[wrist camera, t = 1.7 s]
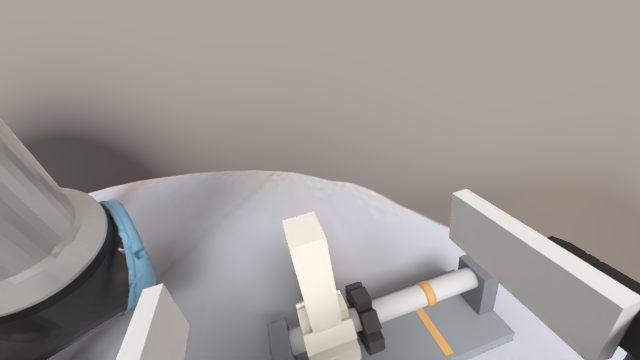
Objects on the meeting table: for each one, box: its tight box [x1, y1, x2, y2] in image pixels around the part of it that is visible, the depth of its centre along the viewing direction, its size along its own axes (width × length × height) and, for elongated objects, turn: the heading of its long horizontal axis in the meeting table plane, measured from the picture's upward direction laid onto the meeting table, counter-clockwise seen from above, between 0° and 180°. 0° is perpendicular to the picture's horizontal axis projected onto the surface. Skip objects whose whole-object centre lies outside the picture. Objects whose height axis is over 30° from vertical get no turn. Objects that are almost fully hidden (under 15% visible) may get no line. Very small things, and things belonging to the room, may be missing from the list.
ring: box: [345, 282, 385, 356], centre depth 31 cm, size 2×7×7 cm, turn 16°
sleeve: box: [282, 212, 362, 360], centre depth 28 cm, size 5×7×18 cm
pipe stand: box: [267, 254, 515, 360], centre depth 32 cm, size 26×10×8 cm, turn 105°
